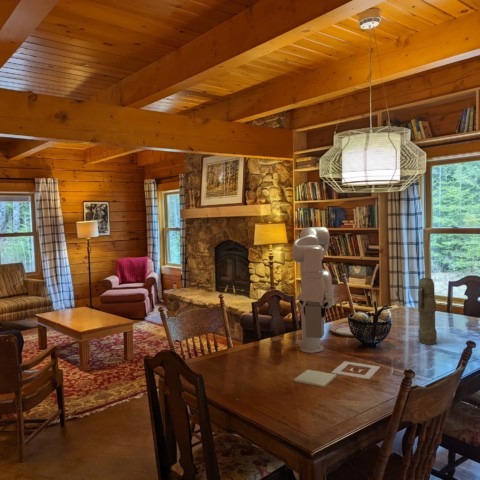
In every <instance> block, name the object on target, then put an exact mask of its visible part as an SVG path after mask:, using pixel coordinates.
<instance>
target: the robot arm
mask: <svg viewBox="0 0 480 480" xmlns="http://www.w3.org/2000/svg"><path fill="white" fill-rule="evenodd" d="M330 240H331V239H330V232H329V229H328V228H326V227H325V226H311V227H305V228H302V230H301V231H300V233H299V237H298V238H296V239H294V242H293V244H292V247H291V254H292V255H291V256H292V259H293V261H294V262H295V263H299V266H300V282H301V289H300V291H301V292H300V293H299V294H298V295H297V296H296V299H297V301H298V302H299V306H300V317H301V318H300V319H301V340H300V339H296V340H295V344H296V345H300V346H299V350H300V351H301V352H304V353H309V354H311V353H312V354H313V353H315V354H316V353H320V352H323V351H324V346H323V345H321V338H310V337H306V321H305V306H306V305H307V304H308V303H307V301H310V302H316V303H320V306H321V317H322V318H323V317H324V318H325V316H326V312H327V311H326V309H330V308H331V307H332V306H333V303H334V300H333V297H334V296H333V283H332V282H333V281H332V275H331V272H330V271H329V270H328V269H323V268H322V265H323V264H322V262H323V260H324V258H325V254H326V253H327V251H328V250H329V246H330Z"/></svg>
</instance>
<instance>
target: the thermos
mask: <svg viewBox="0 0 480 480" xmlns="http://www.w3.org/2000/svg"><path fill="white" fill-rule="evenodd" d="M435 294H436V293H435V282H434V280H433V279H432V278H431V277H423V278H419V282H418V299H417V310H418V317H419V318H418V320H419V325H418V326H419V328H418V343H419V344H420V343H421V344H420V345H423V344H425V345H424V346H435V345H437V339H438V338H437V337H438V336H437V330H436V311H437V305H436V303H437V301H436V298H435V297H436V296H435ZM434 344H435V345H434Z"/></svg>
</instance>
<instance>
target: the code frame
mask: <svg viewBox="0 0 480 480" xmlns="http://www.w3.org/2000/svg"><path fill="white" fill-rule="evenodd" d="M348 366H354V367H359V369H358V373H361V372H362V371H363V372H364V371H365V370H364V369H361V368H367V369H369V370H368V371H367V372H366V373H365V374H358V373H354V367H350V368H351V369H349V372H347V371H343V370H344V369H345V368H347V367H348ZM380 368H381V366H378V365H374V364H373V365H371V364H365V363H360V362H359V363H358V362H351V361H343V362H342V363H340V364H339V365H338V366H337V367H336V368H334V370H332V371H331V374H337V375H339V376H347V377H352V378H358V379H363V380H370V379H371V378H372V377H373V376H374V375H375V374H376V373H377V372H378V371H379V369H380ZM351 372H352V373H351Z"/></svg>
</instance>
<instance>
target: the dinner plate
mask: <svg viewBox="0 0 480 480" xmlns="http://www.w3.org/2000/svg"><path fill="white" fill-rule="evenodd" d="M348 323H349V322H346V323H345V322H344V323H337V324H333V325H332V324H331V325H330V327H329V328H328V329H329V330H330V331H332V332H334V333H335V334H338V335H340V336H345V337H354V336H353V334H352V333H351V332H350V329H349V325H348Z"/></svg>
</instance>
